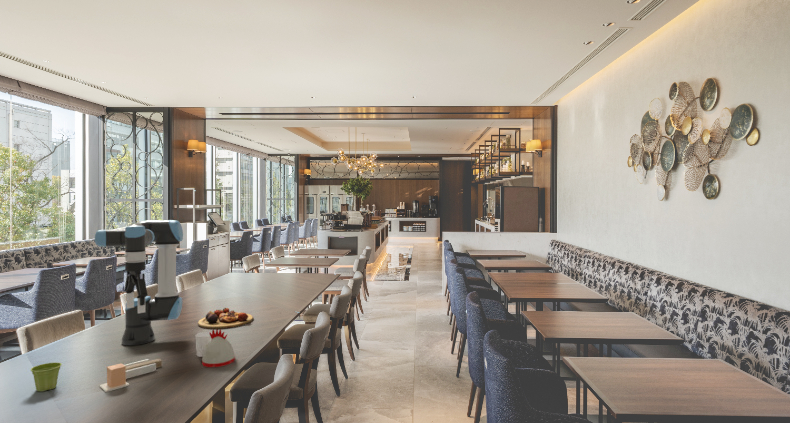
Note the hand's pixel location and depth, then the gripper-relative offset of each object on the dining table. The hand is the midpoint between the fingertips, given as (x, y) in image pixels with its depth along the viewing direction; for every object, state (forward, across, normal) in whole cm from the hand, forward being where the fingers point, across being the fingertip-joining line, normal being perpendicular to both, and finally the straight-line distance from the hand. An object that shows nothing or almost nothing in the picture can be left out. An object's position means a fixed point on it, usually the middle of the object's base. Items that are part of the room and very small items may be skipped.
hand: (135, 310), depth 182 cm
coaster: (+27, +10, -11) cm, 31 cm away
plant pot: (+27, -8, -29) cm, 40 cm away
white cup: (+27, +2, +29) cm, 40 cm away
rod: (+27, 0, +3) cm, 27 cm away
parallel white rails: (+27, +1, 0) cm, 27 cm away
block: (+26, +10, -10) cm, 30 cm away
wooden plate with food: (+27, -46, +65) cm, 84 cm away
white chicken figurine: (+27, +16, +29) cm, 43 cm away
